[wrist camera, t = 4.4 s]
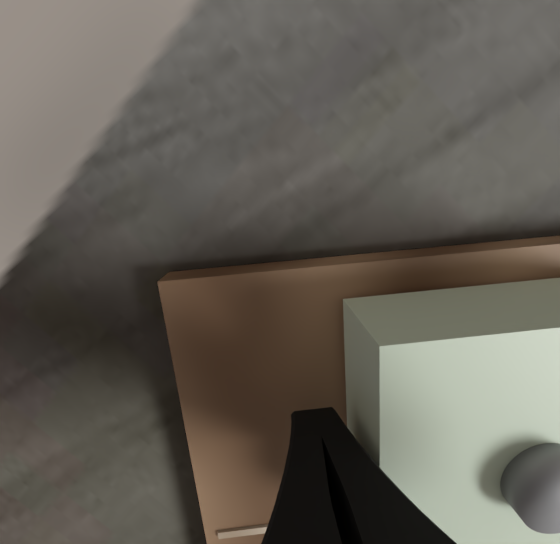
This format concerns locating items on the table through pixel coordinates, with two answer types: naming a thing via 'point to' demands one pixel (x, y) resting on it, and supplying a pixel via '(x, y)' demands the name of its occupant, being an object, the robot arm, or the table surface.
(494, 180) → the table surface
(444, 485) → the cover
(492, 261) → the board
